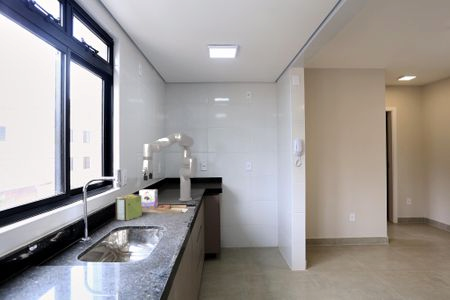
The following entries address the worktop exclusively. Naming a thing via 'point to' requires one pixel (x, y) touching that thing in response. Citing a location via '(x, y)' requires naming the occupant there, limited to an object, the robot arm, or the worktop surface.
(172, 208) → the pad
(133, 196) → the protein box
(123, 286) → the worktop surface
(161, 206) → the frame
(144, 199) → the candy box
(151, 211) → the rail lane
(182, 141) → the robot arm
